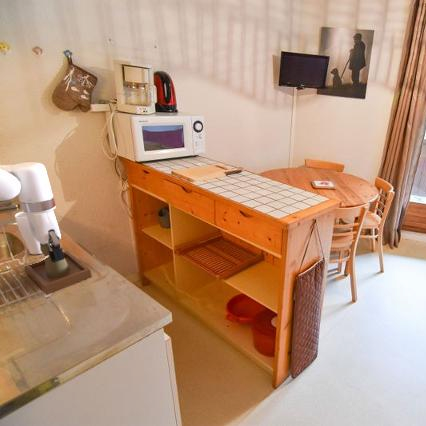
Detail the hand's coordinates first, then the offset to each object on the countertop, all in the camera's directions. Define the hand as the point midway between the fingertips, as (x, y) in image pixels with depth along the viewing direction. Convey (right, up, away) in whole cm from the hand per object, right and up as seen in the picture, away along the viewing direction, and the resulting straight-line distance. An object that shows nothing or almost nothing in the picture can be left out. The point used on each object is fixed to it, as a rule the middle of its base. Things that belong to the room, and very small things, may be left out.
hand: (53, 256), depth 101 cm
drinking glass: (-17, 0, +14) cm, 22 cm away
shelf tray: (-1, -6, +3) cm, 7 cm away
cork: (-1, -6, +2) cm, 6 cm away
